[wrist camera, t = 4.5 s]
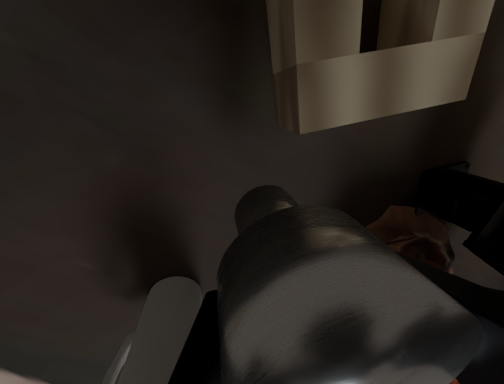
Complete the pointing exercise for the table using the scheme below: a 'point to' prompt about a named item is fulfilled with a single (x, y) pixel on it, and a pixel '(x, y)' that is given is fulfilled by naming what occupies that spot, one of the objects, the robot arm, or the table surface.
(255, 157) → the table surface
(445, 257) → the stew
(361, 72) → the hitch block
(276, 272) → the pin
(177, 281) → the mug
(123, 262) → the table surface
